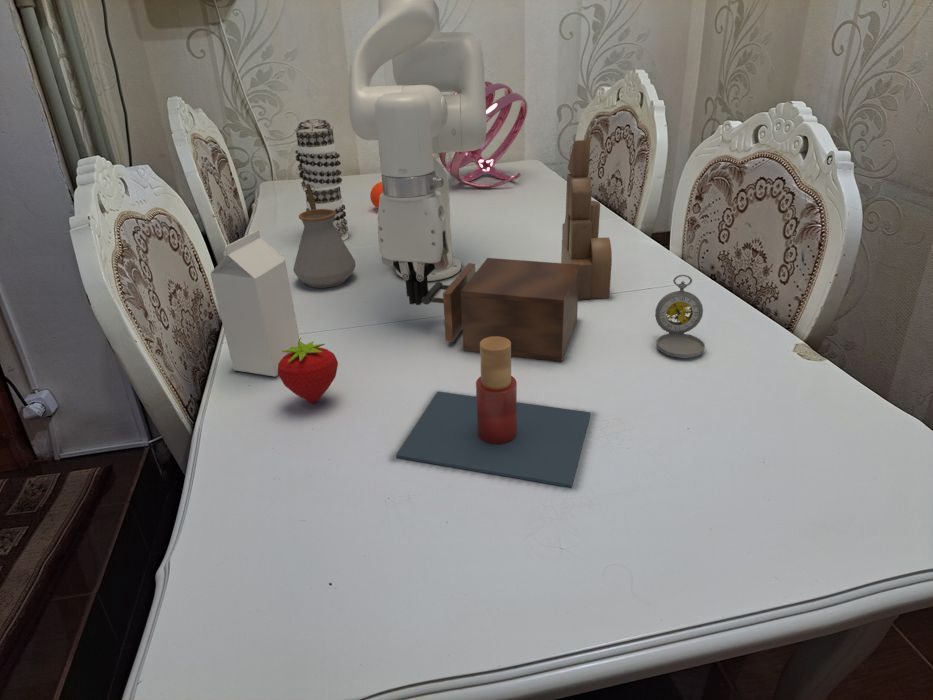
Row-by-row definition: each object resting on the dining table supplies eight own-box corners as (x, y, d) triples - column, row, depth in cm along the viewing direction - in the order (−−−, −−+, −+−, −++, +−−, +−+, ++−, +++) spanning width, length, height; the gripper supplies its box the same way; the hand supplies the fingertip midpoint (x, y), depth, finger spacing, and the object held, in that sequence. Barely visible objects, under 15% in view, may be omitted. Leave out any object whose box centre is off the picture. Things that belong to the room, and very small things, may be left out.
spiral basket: (572, 108, 170) (497, 45, 174) (505, 153, 156) (426, 83, 160) (535, 180, 194) (471, 123, 198) (475, 224, 180) (407, 162, 184)
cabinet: (463, 350, 95) (460, 290, 91) (488, 312, 107) (487, 257, 102) (561, 362, 91) (564, 300, 87) (576, 321, 102) (579, 264, 98)
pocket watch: (679, 365, 89) (687, 298, 84) (638, 341, 96) (644, 278, 91) (722, 350, 92) (733, 285, 88) (679, 328, 99) (687, 266, 94)
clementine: (408, 208, 163) (405, 180, 160) (391, 215, 158) (388, 186, 155) (383, 204, 167) (380, 177, 164) (366, 211, 162) (362, 183, 159)
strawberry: (346, 409, 83) (335, 340, 78) (286, 420, 81) (271, 350, 76) (340, 386, 88) (330, 320, 83) (283, 396, 86) (270, 329, 81)
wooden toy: (611, 298, 110) (622, 147, 98) (572, 300, 110) (578, 149, 98) (594, 266, 123) (602, 130, 111) (559, 267, 123) (563, 131, 111)
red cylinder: (472, 441, 75) (469, 350, 69) (483, 419, 79) (481, 331, 73) (511, 447, 74) (510, 355, 68) (520, 424, 77) (520, 335, 72)
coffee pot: (361, 286, 119) (351, 206, 112) (298, 296, 116) (283, 214, 109) (346, 250, 137) (336, 179, 130) (291, 257, 134) (278, 185, 127)
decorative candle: (300, 242, 143) (280, 124, 131) (323, 229, 150) (307, 117, 138) (335, 246, 139) (318, 125, 128) (357, 233, 147) (343, 118, 135)
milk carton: (303, 354, 96) (280, 231, 87) (275, 378, 90) (248, 248, 81) (262, 348, 98) (236, 228, 89) (233, 371, 92) (202, 244, 83)
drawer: (416, 338, 98) (412, 290, 94) (443, 304, 108) (440, 260, 104) (534, 351, 92) (534, 301, 89) (550, 315, 103) (552, 269, 99)
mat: (396, 457, 73) (395, 454, 73) (437, 393, 85) (437, 391, 85) (571, 487, 68) (571, 484, 68) (590, 414, 79) (590, 412, 79)
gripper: (466, 180, 94) (470, 296, 102) (373, 176, 98) (384, 288, 107) (448, 193, 88) (455, 315, 96) (350, 189, 92) (364, 306, 101)
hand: (418, 301), depth 102 cm, fingers closed
